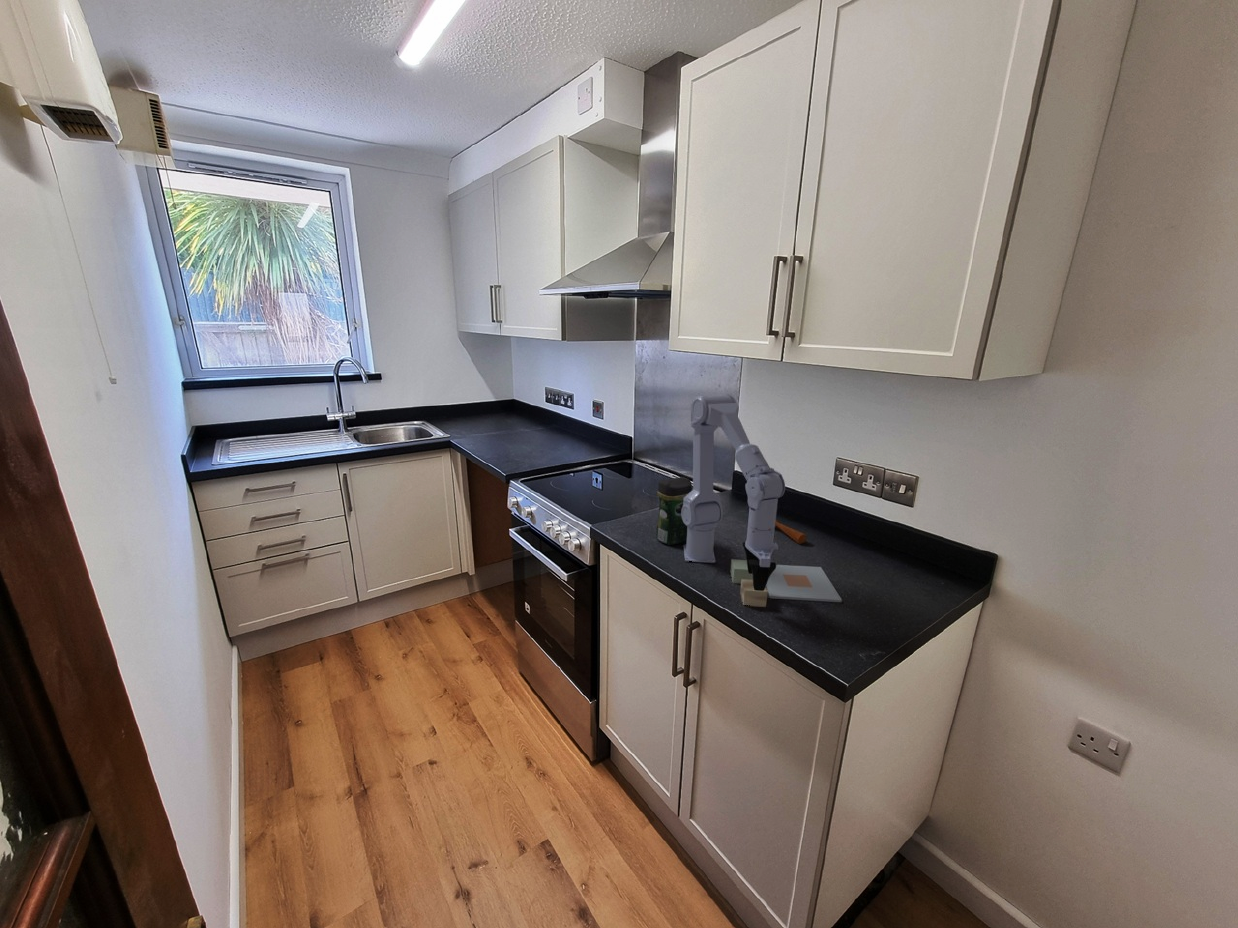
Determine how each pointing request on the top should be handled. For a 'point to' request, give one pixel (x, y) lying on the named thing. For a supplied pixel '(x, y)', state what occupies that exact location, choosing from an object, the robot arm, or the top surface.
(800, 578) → the baseplate
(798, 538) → the maraca
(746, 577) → the sage block
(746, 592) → the beech block
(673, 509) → the coffee jar
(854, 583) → the top surface
